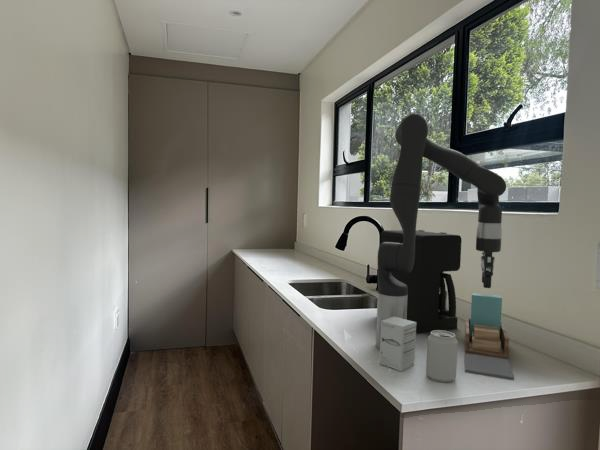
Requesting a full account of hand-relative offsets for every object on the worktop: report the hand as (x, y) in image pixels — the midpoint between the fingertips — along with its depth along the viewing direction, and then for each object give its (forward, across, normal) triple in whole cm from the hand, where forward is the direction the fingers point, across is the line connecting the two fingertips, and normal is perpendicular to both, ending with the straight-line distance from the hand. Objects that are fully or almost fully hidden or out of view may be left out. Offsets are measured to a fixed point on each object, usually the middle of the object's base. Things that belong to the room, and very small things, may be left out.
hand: (486, 285), depth 139 cm
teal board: (+18, -1, 0) cm, 18 cm away
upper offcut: (+15, -8, 0) cm, 17 cm away
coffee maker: (+20, +14, +22) cm, 32 cm away
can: (+19, -36, +12) cm, 43 cm away
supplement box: (+19, -32, +24) cm, 45 cm away
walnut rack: (+19, -6, 0) cm, 20 cm away
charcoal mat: (+19, -22, 0) cm, 29 cm away
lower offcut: (+18, -8, 0) cm, 20 cm away
